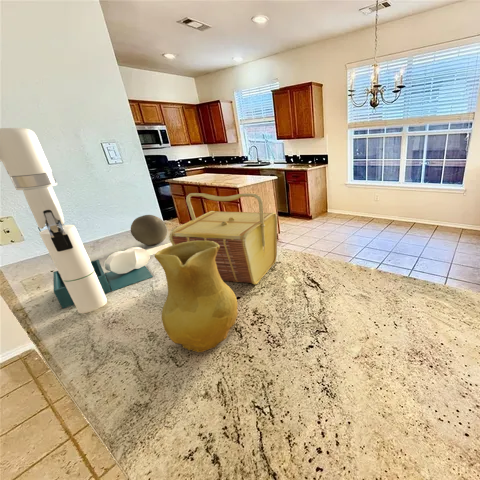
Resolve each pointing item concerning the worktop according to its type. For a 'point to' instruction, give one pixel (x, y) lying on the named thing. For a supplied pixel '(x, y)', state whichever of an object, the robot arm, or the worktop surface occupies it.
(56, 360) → the worktop surface
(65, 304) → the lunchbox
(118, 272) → the white long scooped piece
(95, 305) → the cylindrical container
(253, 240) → the picnic basket
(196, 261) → the pitcher
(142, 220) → the cantaloupe
